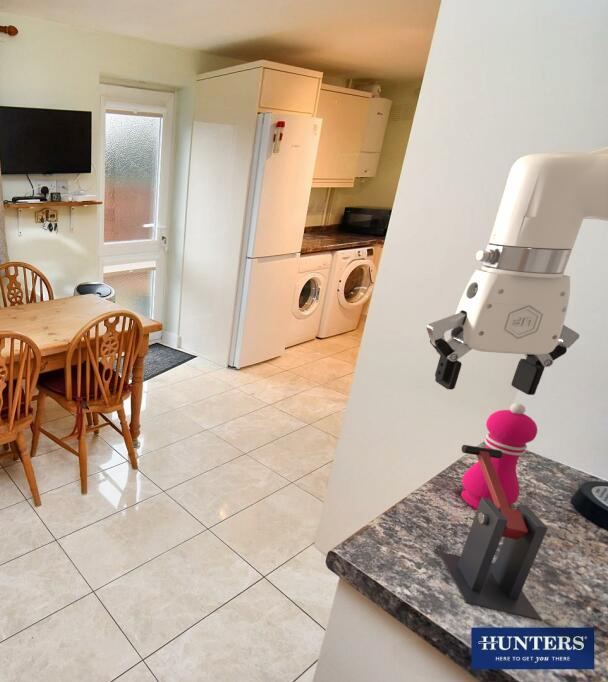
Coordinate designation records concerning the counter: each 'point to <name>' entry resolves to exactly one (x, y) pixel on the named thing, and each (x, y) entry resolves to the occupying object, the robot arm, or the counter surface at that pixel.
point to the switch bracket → (510, 567)
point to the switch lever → (498, 491)
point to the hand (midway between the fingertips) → (482, 388)
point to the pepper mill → (511, 439)
